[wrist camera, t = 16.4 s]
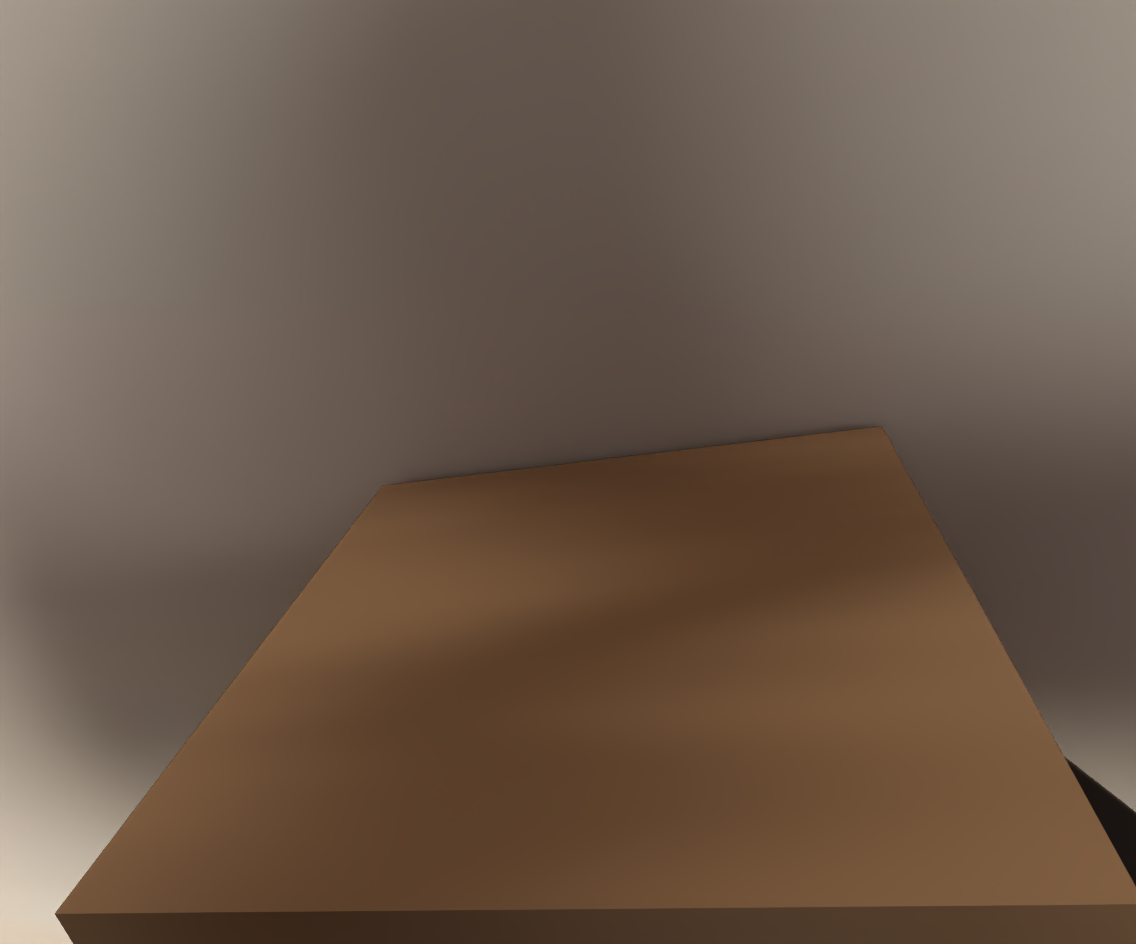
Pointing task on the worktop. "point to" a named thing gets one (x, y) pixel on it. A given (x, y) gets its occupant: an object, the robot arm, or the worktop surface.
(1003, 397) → the worktop surface
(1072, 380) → the worktop surface
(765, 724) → the walnut cube
